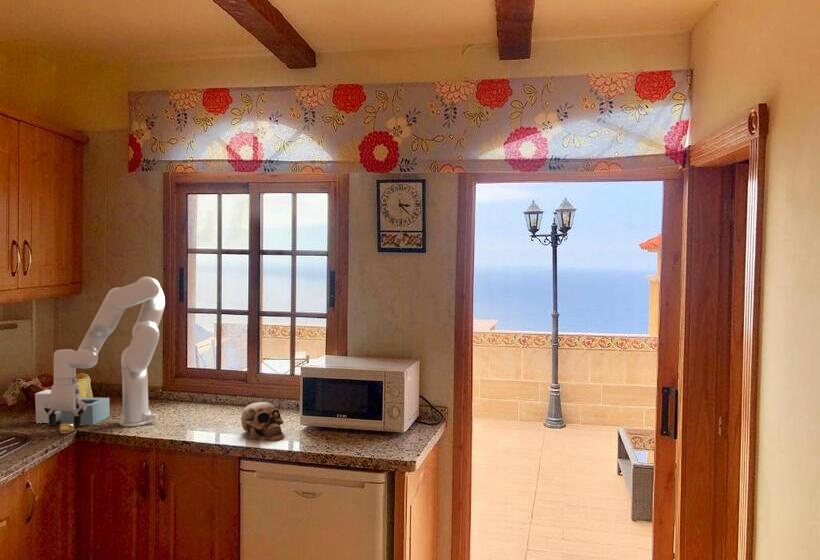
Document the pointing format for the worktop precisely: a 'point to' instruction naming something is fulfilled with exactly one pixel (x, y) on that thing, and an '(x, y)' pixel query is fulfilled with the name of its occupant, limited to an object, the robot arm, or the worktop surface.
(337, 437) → the worktop surface
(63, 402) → the robot arm
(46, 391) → the supplement box
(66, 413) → the box
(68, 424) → the yellow block
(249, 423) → the brown skull
